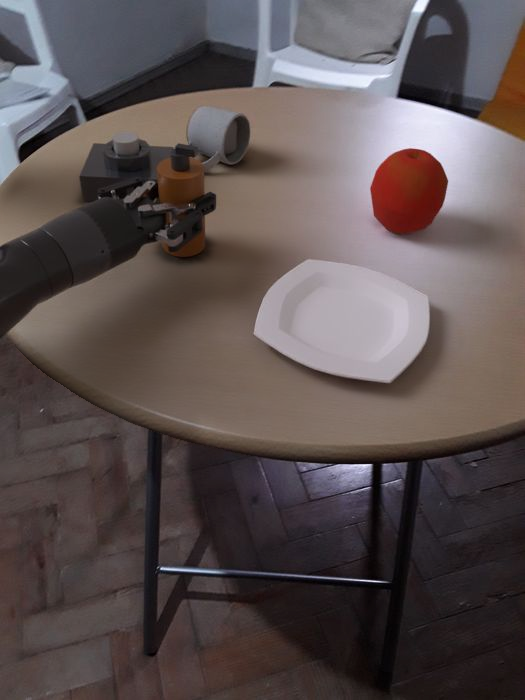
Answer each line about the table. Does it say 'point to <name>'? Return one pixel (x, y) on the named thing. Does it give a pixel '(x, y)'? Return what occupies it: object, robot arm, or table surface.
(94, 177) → the push button base
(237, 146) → the ceramic mug
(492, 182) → the table surface
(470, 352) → the table surface
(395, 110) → the table surface
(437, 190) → the apple
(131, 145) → the white push button
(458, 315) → the table surface
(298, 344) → the plate
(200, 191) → the soap bottle
